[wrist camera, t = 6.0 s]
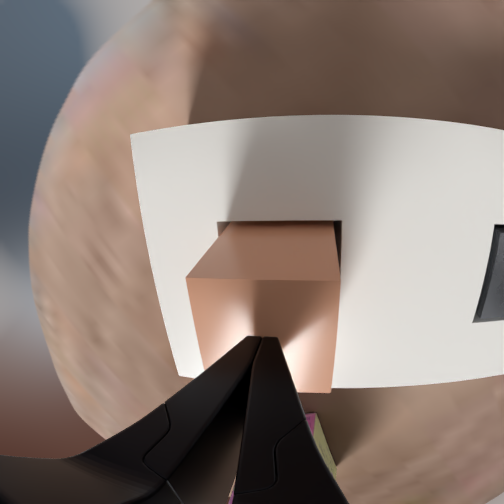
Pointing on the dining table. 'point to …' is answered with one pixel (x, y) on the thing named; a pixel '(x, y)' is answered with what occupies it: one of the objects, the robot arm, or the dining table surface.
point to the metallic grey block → (493, 279)
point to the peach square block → (271, 294)
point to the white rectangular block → (342, 230)
